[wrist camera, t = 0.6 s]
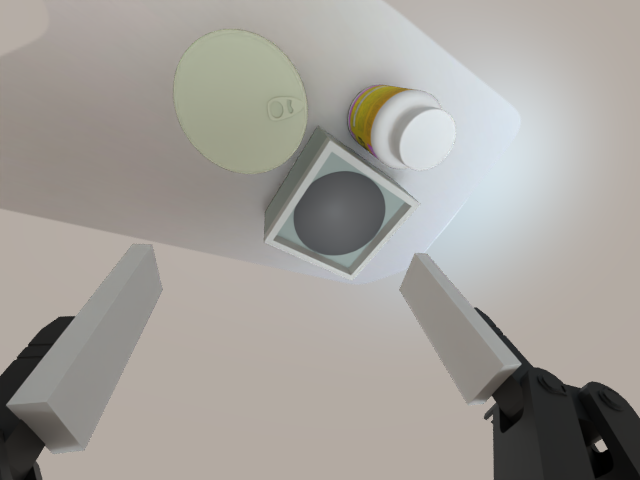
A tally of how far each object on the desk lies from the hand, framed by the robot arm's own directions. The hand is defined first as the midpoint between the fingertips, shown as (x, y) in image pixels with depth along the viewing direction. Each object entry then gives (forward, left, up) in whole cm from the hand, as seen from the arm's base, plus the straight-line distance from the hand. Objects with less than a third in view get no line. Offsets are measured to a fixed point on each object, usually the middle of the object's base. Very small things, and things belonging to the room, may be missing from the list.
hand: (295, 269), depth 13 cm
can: (-6, +4, -22) cm, 23 cm away
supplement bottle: (+7, +10, -22) cm, 25 cm away
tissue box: (+8, -1, -22) cm, 23 cm away
